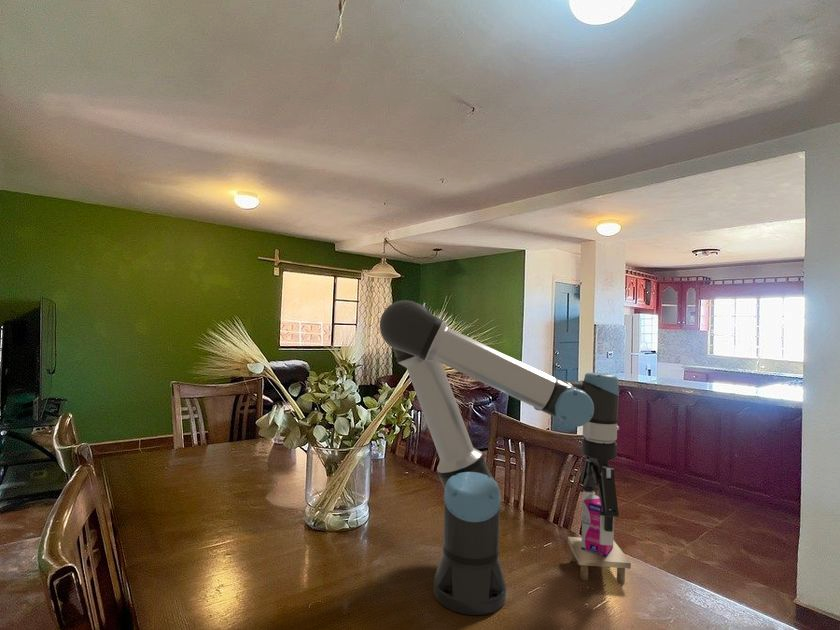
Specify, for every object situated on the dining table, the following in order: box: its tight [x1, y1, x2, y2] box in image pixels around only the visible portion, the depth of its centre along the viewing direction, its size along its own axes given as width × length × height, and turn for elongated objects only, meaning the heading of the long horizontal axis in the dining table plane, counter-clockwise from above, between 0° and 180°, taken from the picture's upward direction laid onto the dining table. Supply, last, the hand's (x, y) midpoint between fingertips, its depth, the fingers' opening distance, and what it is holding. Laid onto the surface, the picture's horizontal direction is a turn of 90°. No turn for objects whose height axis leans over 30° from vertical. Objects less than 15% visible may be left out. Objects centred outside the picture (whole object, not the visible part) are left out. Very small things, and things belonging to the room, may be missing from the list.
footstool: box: [567, 536, 632, 585], centre depth 106 cm, size 11×11×5 cm
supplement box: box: [581, 494, 613, 557], centre depth 106 cm, size 6×6×12 cm
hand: (596, 530), depth 106 cm, fingers open, 13 cm apart
